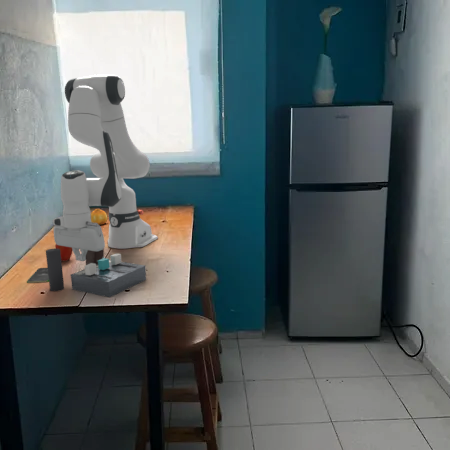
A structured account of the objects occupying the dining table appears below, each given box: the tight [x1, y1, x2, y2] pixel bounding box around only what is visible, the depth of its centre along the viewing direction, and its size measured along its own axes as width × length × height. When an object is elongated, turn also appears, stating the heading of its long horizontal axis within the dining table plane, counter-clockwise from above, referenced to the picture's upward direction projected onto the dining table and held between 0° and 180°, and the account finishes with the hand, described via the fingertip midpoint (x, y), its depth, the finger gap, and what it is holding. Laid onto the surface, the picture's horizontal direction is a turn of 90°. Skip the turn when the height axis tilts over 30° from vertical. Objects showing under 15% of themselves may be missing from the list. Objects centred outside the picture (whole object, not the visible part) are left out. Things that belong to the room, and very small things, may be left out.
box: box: [85, 248, 105, 265], centre depth 188 cm, size 6×4×12 cm
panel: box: [70, 259, 147, 298], centre depth 176 cm, size 18×16×5 cm
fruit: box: [90, 208, 108, 226], centre depth 262 cm, size 8×8×8 cm
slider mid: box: [98, 257, 110, 270], centre depth 176 cm, size 3×2×3 cm, turn 150°
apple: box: [55, 243, 73, 262], centre depth 204 cm, size 6×6×8 cm
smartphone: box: [26, 267, 49, 284], centre depth 187 cm, size 8×1×15 cm
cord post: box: [45, 247, 65, 292], centre depth 172 cm, size 4×4×13 cm
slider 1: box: [84, 263, 97, 275], centre depth 171 cm, size 3×2×3 cm, turn 150°
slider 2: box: [109, 252, 122, 265], centre depth 181 cm, size 3×2×3 cm, turn 150°
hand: (81, 260), depth 180 cm, fingers closed
